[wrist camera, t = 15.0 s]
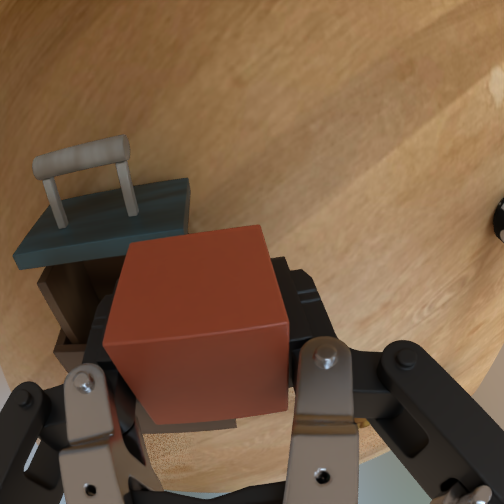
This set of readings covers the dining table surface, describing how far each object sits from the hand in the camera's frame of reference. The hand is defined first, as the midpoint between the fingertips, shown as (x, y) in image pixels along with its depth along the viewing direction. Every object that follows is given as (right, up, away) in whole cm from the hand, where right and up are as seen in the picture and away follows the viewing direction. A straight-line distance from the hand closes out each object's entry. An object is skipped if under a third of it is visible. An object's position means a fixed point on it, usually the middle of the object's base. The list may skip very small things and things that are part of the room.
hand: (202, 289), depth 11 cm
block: (0, 0, 0) cm, 0 cm away
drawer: (-8, +2, +14) cm, 16 cm away
